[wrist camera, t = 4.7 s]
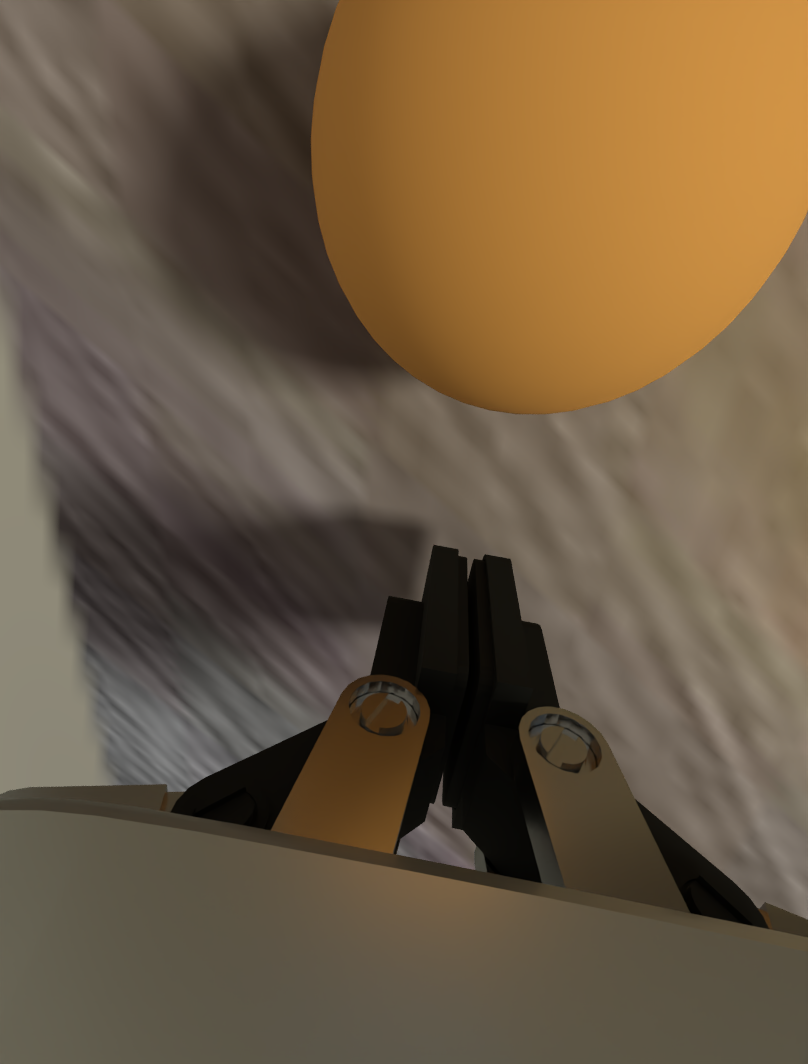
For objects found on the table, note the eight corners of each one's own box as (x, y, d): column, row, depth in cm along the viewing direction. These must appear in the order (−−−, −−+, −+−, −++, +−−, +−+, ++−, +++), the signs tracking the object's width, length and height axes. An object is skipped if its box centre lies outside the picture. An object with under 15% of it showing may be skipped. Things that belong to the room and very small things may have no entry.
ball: (1283, -510, 3) (732, 91, 9) (286, -669, 3) (388, 24, 9) (857, 484, 5) (624, 440, 10) (189, 343, 5) (330, 377, 10)
